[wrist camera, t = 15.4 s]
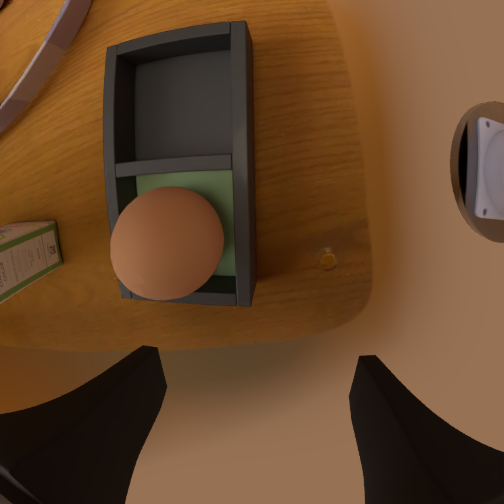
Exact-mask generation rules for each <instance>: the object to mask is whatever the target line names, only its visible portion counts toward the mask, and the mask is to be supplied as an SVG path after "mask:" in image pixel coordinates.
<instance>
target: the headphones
mask: <svg viewBox="0 0 504 504" xmlns="http://www.w3.org/2000/svg"><path fill="white" fill-rule="evenodd" d="M3 2H4V0H0V8H1V6H2V4H3ZM91 2H92V0H66V1H65V3H64V5H63V7H62V9H61V11H60V13H59V15H58V17H57V18H56V20H55V22H54V24H53V26H52V27H51V29H50V31H49V32H48V34H47V36H46V38H45V40H44V42H43V44H42V46H41V47H40V49H39V50H38V52H37V54H36V55H35V57H34V58H33V60H32V61H31V63H30V64H29V66H28V67H27V69H26V70H25V72H24V73H23V75H22V77H21V78H20V79H19V81H18V82H17V84H16V85H15V87H14V88H13V89H12V91H11V92H10V94H9V95H8V96H7V98H6V99H5V100H4V101H3V103H2V104H1V106H0V133H1V132H2V131H3V130H4V129H5V128H6V127H7V126H8V125H9V124H11V123H12V122H13V121H14V120H15V119H16V117H17V116H18V115H19V114H20V113H21V112H22V111H23V109H24V108H25V107H26V106H27V105H28V104H29V102H30V101H31V100H32V99H33V98H34V97H35V96H36V95H37V93H38V92H39V91H40V89H41V88H42V87H43V85H44V84H45V83H46V81H47V80H48V78H49V77H50V75H51V74H52V72H53V71H54V69H55V68H56V66H57V65H58V63H59V62H60V60H61V59H62V57H63V56H64V54H65V53H66V51H67V49H68V47H69V46H70V44H71V42H72V41H73V39H74V37H75V36H76V34H77V32H78V30H79V28H80V26H81V24H82V22H83V20H84V18H85V16H86V14H87V12H88V9H89V7H90V5H91Z"/></svg>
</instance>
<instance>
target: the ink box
mask: <svg viewBox="0 0 504 504" xmlns="http://www.w3.org/2000/svg"><path fill="white" fill-rule="evenodd" d="M62 265H63V263H62V258H61V254H60V250H59V245H58V234H57V228H56V223H55V221H35V222H19V223H10V224H8V225H5V226H3V227H0V303H2V302H4V301H5V300H7V299H8V298H10V297H11V296H13V295H14V294H16V293H18V292H19V291H21V290H22V289H24V288H26V287H27V286H29V285H31V284H32V283H34V282H35V281H37V280H39V279H40V278H42V277H44V276H45V275H47V274H49V273H51V272H52V271H54V270H56V269H57V268H59V267H61V266H62Z"/></svg>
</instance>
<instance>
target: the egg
mask: <svg viewBox="0 0 504 504" xmlns="http://www.w3.org/2000/svg"><path fill="white" fill-rule="evenodd" d="M223 245H224V233H223V227H222V224H221V222H220V219H219V216H218V214H217V212H216V211H215V209H214V208H213V207H212V205H211V204H210V202H208V201H207V200H206V199H205V198H204V197H202V196H201V195H199V194H197V193H196V192H194V191H192V190H189V189H186V188H182V187H160V188H157V189H154V190H151V191H148V192H145V193H144V194H142V195H140V196H138V197H137V198H135V199H134V200H133V201H132V202H131V203H130V204H129V205H127V207H126V208H125V209H124V210H123V212H122V213H121V214H120V216H119V218H118V220H117V223H116V225H115V227H114V230H113V233H112V237H111V261H112V265H113V268H114V270H115V272H116V274H117V276H118V278H119V280H120V281H121V282H122V283H123V284H124V285H125V286H126V287H127V288H128V289H129V290H130V291H132V292H133V293H135V294H137V295H139V296H142V297H145V298H149V299H153V300H170V299H176V298H181V297H184V296H187V295H189V294H190V293H192V292H194V291H195V290H197V289H198V288H200V287H201V286H202V285H203V284H204V283H206V282H207V280H208V279H209V278H210V277H211V275H212V274H213V273H214V271H215V269H216V268H217V266H218V264H219V262H220V259H221V256H222V252H223Z"/></svg>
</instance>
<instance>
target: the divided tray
mask: <svg viewBox="0 0 504 504" xmlns="http://www.w3.org/2000/svg"><path fill="white" fill-rule="evenodd" d="M103 151H104V172H105V186H106V198H107V208H108V217H109V225H110V233H111V237H112V233H113V230H114V227H115V225H116V223H117V220H118V218H119V216H120V214H121V213H122V212H123V210H124V209H125V208H126V207H127V205H129V204H130V203H131V202H132V201H133V200H134V199H135V198H137V197H138V196H140V195H142V194H144V193H145V192H148V191H151V190H154V189H157V188H160V187H182V188H186V189H189V190H192V191H194V192H196V193H197V194H199V195H201V196H202V197H204V198H205V199H206V200H207V201H208V202H210V204H211V205H212V207H213V208H214V209H215V211H216V212H217V214H218V216H219V219H220V222H221V224H222V227H223V233H224V245H223V252H222V256H221V259H220V262H219V264H218V266H217V268H216V269H215V271H214V273H213V274H212V275H211V277H210V278H209V279H208V280H207V282H206V283H204V284H203V285H202V286H201V287H200V288H198V289H197V290H195V291H194V292H192V293H190V294H189V295H187V296H184V297H181V298H176V299H170V300H153V299H149V298H145V297H142V296H139V295H137V294H135V293H133V292H132V291H130V290H129V289H128V288H127V287H126V286H125V285H124V284H123V283H122V282H121V281H120V280H119V278H118V281H119V286H120V291H121V296H122V298H128V299H132V298H133V299H138V300H149V301H161V302H174V303H189V304H205V305H223V306H248V307H250V306H251V304H252V300H253V295H254V291H255V286H256V232H255V163H254V104H253V52H252V39H251V36H250V32H249V29H248V26H247V23H246V21H233V22H221V23H212V24H205V25H198V26H192V27H186V28H180V29H175V30H170V31H165V32H161V33H156V34H152V35H148V36H144V37H140V38H137V39H133V40H130V41H126V42H123V43H119V44H118V45H114V46H111V47H108V48H107V52H106V63H105V76H104V95H103Z"/></svg>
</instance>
